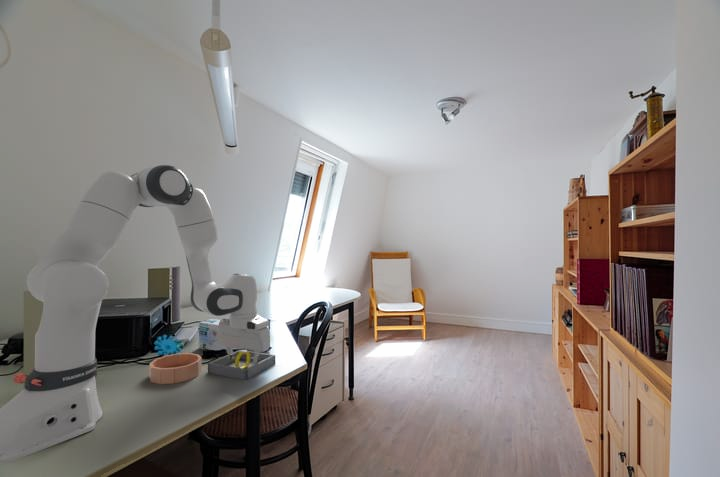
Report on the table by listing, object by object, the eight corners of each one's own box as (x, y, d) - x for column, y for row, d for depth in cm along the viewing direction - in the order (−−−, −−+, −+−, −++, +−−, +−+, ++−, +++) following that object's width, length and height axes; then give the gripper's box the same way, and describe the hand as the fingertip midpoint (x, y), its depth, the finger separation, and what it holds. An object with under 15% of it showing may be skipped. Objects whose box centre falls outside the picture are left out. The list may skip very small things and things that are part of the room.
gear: (160, 358, 124) (152, 334, 129) (151, 368, 126) (144, 344, 131) (189, 354, 134) (180, 332, 138) (181, 363, 136) (173, 341, 140)
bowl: (173, 386, 105) (173, 371, 105) (139, 379, 110) (139, 364, 110) (210, 369, 118) (210, 356, 118) (178, 363, 124) (178, 351, 124)
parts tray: (246, 379, 110) (246, 370, 110) (207, 372, 116) (207, 363, 116) (275, 363, 125) (275, 355, 125) (239, 357, 131) (240, 349, 131)
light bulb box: (198, 348, 141) (198, 321, 141) (211, 344, 147) (211, 318, 147) (217, 352, 136) (217, 324, 136) (230, 347, 142) (230, 321, 142)
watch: (245, 365, 124) (246, 348, 124) (251, 366, 122) (252, 349, 123) (232, 370, 118) (234, 352, 119) (239, 371, 117) (240, 353, 117)
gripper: (212, 319, 121) (212, 359, 121) (261, 325, 114) (261, 368, 114) (225, 316, 127) (225, 354, 127) (273, 321, 120) (272, 361, 120)
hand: (242, 360), depth 120 cm, fingers open, 8 cm apart
